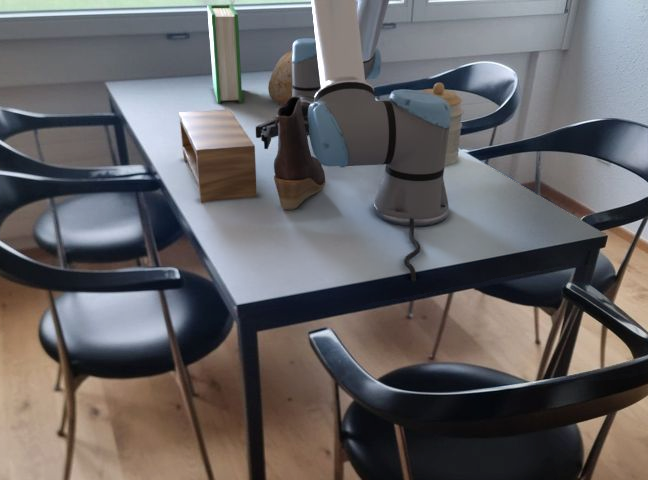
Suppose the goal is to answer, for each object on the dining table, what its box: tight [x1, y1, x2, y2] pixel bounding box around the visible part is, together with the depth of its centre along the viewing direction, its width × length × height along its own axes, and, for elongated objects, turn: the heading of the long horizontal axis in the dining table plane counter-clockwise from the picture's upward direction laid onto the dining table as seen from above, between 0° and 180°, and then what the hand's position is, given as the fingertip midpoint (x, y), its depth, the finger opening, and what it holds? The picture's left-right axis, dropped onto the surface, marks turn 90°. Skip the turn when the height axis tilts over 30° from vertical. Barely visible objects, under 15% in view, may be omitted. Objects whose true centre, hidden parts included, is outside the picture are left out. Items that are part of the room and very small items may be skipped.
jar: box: [420, 82, 465, 166], centre depth 165 cm, size 13×13×18 cm
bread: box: [267, 49, 293, 106], centre depth 208 cm, size 26×23×15 cm
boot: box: [273, 97, 326, 211], centre depth 145 cm, size 9×24×20 cm, turn 168°
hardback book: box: [206, 4, 243, 105], centre depth 208 cm, size 18×7×24 cm, turn 12°
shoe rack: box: [178, 108, 258, 203], centre depth 155 cm, size 28×12×11 cm, turn 17°
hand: (296, 144), depth 153 cm, fingers open, 13 cm apart
